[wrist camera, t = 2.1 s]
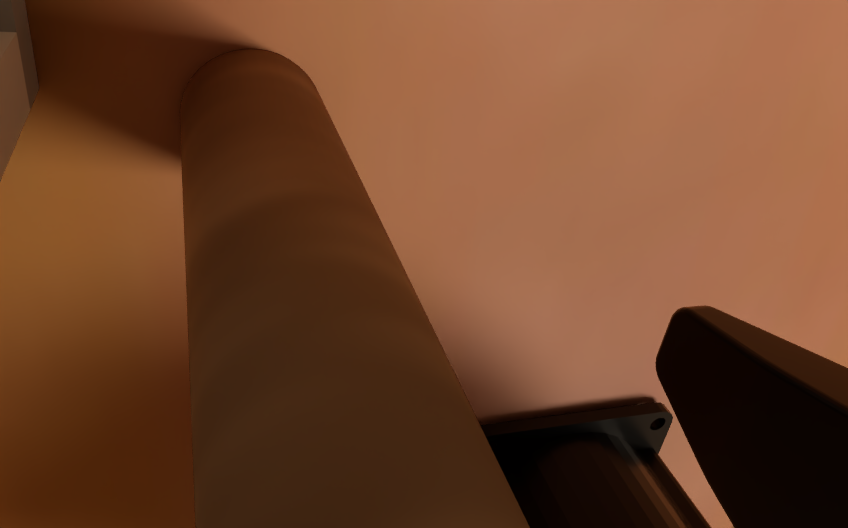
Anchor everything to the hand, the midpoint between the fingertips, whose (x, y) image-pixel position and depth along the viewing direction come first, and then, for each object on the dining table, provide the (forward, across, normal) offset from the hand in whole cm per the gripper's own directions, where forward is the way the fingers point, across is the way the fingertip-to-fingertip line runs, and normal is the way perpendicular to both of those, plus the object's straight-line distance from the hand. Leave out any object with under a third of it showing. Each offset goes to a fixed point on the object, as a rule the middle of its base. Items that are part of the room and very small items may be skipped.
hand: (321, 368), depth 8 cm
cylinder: (+7, 0, 0) cm, 7 cm away
